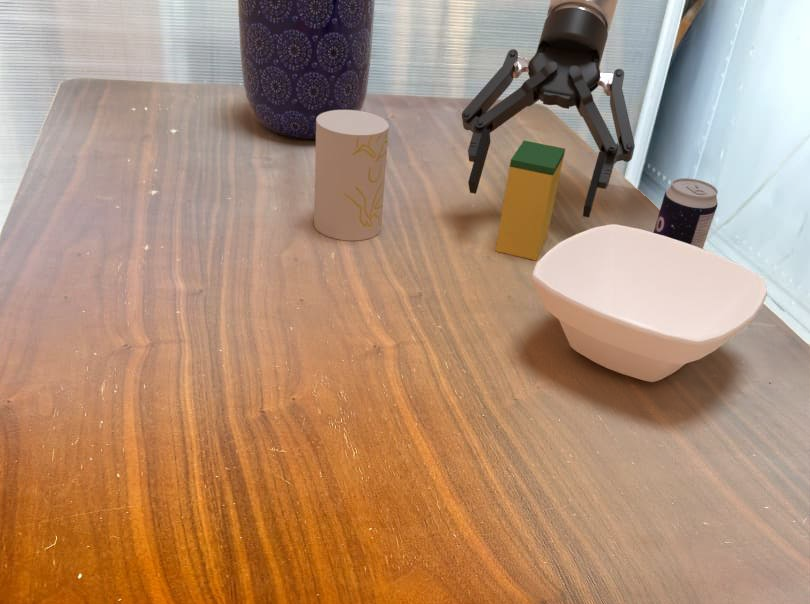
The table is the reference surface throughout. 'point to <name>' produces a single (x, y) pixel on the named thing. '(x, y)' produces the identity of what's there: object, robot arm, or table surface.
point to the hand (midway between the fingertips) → (528, 200)
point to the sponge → (529, 199)
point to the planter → (304, 59)
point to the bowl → (644, 299)
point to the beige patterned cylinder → (349, 174)
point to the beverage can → (687, 211)
